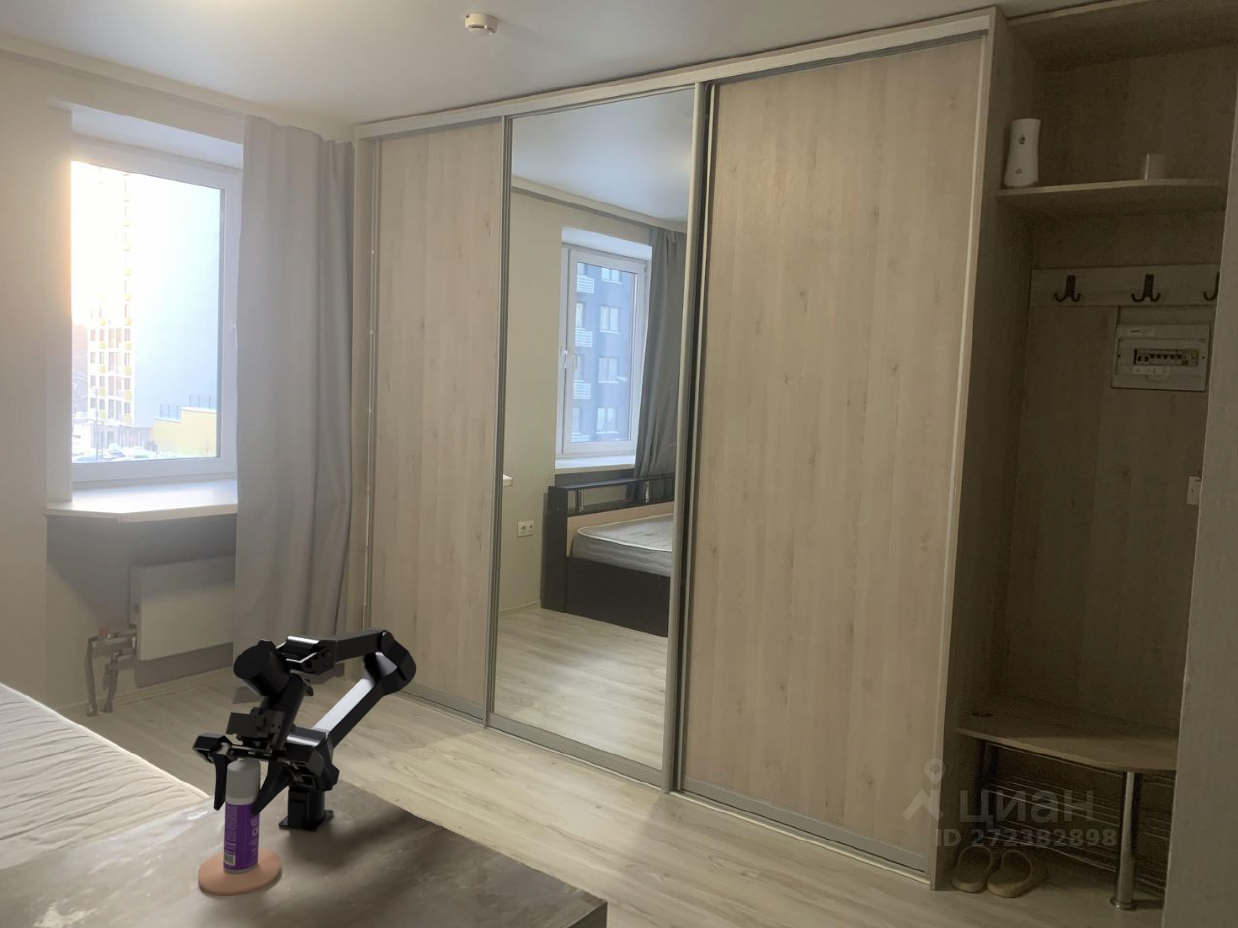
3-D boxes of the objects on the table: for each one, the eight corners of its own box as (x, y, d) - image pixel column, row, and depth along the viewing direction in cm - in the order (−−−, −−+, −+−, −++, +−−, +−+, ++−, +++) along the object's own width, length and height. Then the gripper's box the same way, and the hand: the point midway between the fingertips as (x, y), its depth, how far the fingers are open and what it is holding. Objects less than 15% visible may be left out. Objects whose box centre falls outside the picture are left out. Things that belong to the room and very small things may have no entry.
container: (257, 871, 130) (261, 769, 129) (222, 875, 129) (225, 772, 128) (258, 855, 135) (261, 757, 134) (223, 859, 133) (227, 759, 132)
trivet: (228, 850, 138) (228, 842, 138) (294, 859, 136) (294, 852, 136) (181, 889, 127) (181, 880, 127) (252, 900, 125) (252, 892, 125)
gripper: (199, 680, 135) (148, 783, 125) (315, 693, 132) (272, 800, 122) (231, 712, 143) (185, 811, 133) (340, 725, 140) (302, 828, 130)
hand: (234, 812), depth 129 cm, fingers open, 6 cm apart
